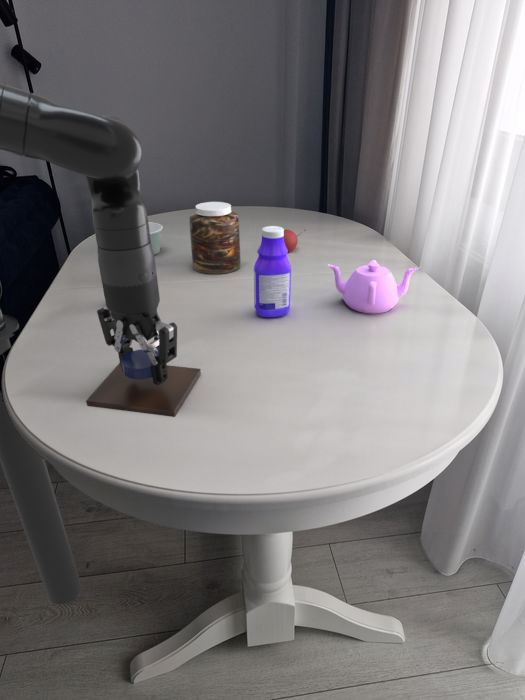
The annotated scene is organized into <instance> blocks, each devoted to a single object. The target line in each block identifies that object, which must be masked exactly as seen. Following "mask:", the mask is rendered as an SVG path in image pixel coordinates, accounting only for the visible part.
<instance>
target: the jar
mask: <svg viewBox="0 0 525 700" xmlns="http://www.w3.org/2000/svg"><path fill="white" fill-rule="evenodd" d="M189 234H190V235H189V236H190V248H191V249H190V250H191V260H192V261H191V262H192V268H193V270H194V271H197V272H200V273H202V274H208V275H223V274H229V273H232V272H236V271H237V270H239V269H240V268H241V236H240V221H239V215H238V213H237V212H235V211H232V204H231V203H228V202H223V201H206V202H201V203H198V204H196V205H195V211H194V212H193V213H191V214H190V215H189Z"/></svg>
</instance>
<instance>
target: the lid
mask: <svg viewBox="0 0 525 700" xmlns="http://www.w3.org/2000/svg"><path fill="white" fill-rule="evenodd" d="M154 352H155V354H156V355H157V354H159V353H158V351H157V349H154ZM151 364H152V363H151V361H150V359H149V357H148V355H147V353H146V352H143V351H142V349H141V348H140V349H135V350H133V351H132V352H130V353H128V354H126V355H125V356H124V357H123V358H122V363H121V365H122V371H123V373H124V375H125V376H127V377H129V378H132V379H147V378H151V377H153V376H152V369H151Z"/></svg>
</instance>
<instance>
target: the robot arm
mask: <svg viewBox="0 0 525 700" xmlns="http://www.w3.org/2000/svg"><path fill="white" fill-rule="evenodd" d="M0 151H1V152H4V153H5V152H6V153H9V154H13V155H18V156H21V157H23V156H24V157H26V158H30V159H34V160H40V161H45V162H48V163H50V164H53V165H56V166H57V167H61V168H63V169H67V170H69V171H71V172H74V173H77V174H80V175H83V176H85V177H86V178H85V179H86V181H87V187H88V190H89V195H90V199H91V212H92V213H91V214H92V224H93V230H94V234H95V240H96V245H97V262H98V268H99V274H100V279H101V285H102V289H103V296H104V301H105V305H104V306H103V307H101V308H99V309H97V311H96V313H97V317H98V319H99V324H100V328H101V331H102V335H103V337H104V341H105V344H106V345H107V346H109V347H111V346H113V348H114V350H115V351H116V352H117V354H118V361H119V363H120V365H121V363H122V358H123V357H124V356H125V355H126V354H128V353H130V352H132V351H134V349H133V348H134V347H132V344H133V341H135V342H137V343H138V345H139V347H140V349H142V351H143V352H146V353H147V355H148V357H149V359H150V361H151V363H152V364H151V369H152V376H153V383H154V384H156V385H160V384H161V383H163V382H164V381H166V379H167V378H168V373H167V364H168V363H170V362H172V361H173V360H174V359H176V358H177V357H178V325H177V324H176V323H175V322H170V323H169V324H167V323H166V322H164V321H162V320H161V317H160V316H159V313H158V307H159V304H160V301H161V298H160V291H159V290H160V289H159V281H158V273H157V265H156V258H155V257H156V256H155V255H154V252H153V249H152V245H151V240H150V232H149V224H148V222H149V216H148V212H147V207H146V204H145V201H144V199H143V196H142V191H141V182H140V174H139V173H140V172H139V168H140V166H141V163H142V159H143V148H142V145H141V141H140V139H139V137H138V135H137V133H136V131H134V130H133V128H131V127H130V126H129V125H128V124H127V123H126V122H125V121H123V120H122V119H121V118H120V117H117V116H114V115H111V114H110V115H109V114H99V115H97V114H93V113H89V112H86V111H82V110H79V109H76V108H72V107H68V106H64V105H60V104H58V103H57V102H55V101H53V100H52V99H50V98H47V97H45V96H42V95H41V94H37V93H34V92H31V91H28V90H24V89H21V88H18V87H14V86H11V85H8V84H4V83H1V82H0ZM2 314H3V312H2V309H1V308H0V331H1V330H2V329H3V328H4V327H5V325H6V324H5V320H4V318H3V316H2ZM111 332H113V335H112V333H111ZM151 339H153V340H152V341H151V342H149V343H148V341H150V340H151ZM154 350H156V351H158V353H159V354H157V355H156V354H155V352H154ZM121 368H122V365H121Z"/></svg>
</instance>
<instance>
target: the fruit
mask: <svg viewBox="0 0 525 700" xmlns="http://www.w3.org/2000/svg"><path fill="white" fill-rule="evenodd" d="M303 232H306V229H304V230H303V231H301V232H300V233H298V234H296V233H295V232H294V231H293V230H291V229H284V243H285V246H286V248H287V250H288V253H292V252H294V251H295V249H296V248H297V247H298V241H299V239H298V237H299V236H300V235H301V234H302V233H303Z"/></svg>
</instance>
